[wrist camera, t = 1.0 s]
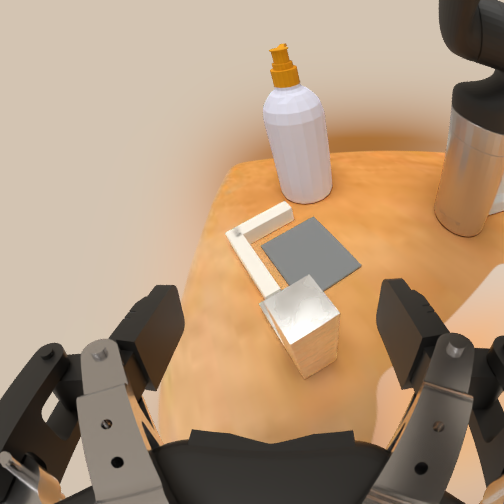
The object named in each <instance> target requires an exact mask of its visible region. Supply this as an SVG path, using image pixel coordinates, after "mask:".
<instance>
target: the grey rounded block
mask: <svg viewBox="0 0 504 504" xmlns="http://www.w3.org/2000/svg"><path fill="white" fill-rule="evenodd" d="M501 211H504V175H503V178H502V181H501V184H500V186H499V189H498V192H497V195H496V197H495V200H494V203H493V205H492V208H491V210H490V212H489V215H490V214H494V213H498V212H501Z"/></svg>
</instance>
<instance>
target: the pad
mask: <svg viewBox="0 0 504 504" xmlns="http://www.w3.org/2000/svg"><path fill="white" fill-rule="evenodd" d="M261 247H262V249H263V250H264V252H265V253H266V254H267V256H268V257H269V258H270V260H271V261H272V263H273V264H274V265H275V267H276V268H277V269H278V271H279V272H280V274H281V275H282V276H283V278H284V279H285V281H286V282H287V283H288V285H289V286H290V285H292V284H294V283H295V282H297V281H299V280H300V279H302V278H304V277H305V276H307V275H309V274H310V276H311V277H312V278H313V279H314V281H315V282H316V283H317V284H318V286H319V287H320V288H321V290H322V291H325V290H326V289H328V288H330V287H331V286H333V285H334V284H336V283H337V282H339V281H340V280H342V279H343V278H345V277H347V276H348V275H350V274H351V273H353V272H354V271H356V270H357V269H358V268H360V267H361V264H360V263H359V262H358V261H357V260H356V259H355V258H354V257H353V256H352V255H351V254H350V253H349V252H348V251H347V250H346V249H345V248H344V247H343V246H342V245H341V243H340V242H339V241H338V240H337V239H336V238H335V237H334V236H333V235H332V234H331V233H330V232H329V231H328V230H327V229H326V228H325V227H324V226H323V225H322V224H320V223H319V222H318V221H317V220H316V219H315V218H314V217H312V218H310V219H308V220H306V221H304V222H303V223H301V224H299V225H297V226H295V227H294V228H292V229H290V230H288V231H286V232H285V233H283V234H281V235H279V236H278V237H276V238H274V239H272V240H270V241H269V242H267V243H265V244H263V245H261Z"/></svg>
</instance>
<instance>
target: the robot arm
mask: <svg viewBox="0 0 504 504" xmlns="http://www.w3.org/2000/svg"><path fill="white" fill-rule="evenodd" d="M439 24H440V30H441V34H442V37H443V40H444V42H445V44H446V46H447V47H448V48H449V49H450V50H451V51H452V52H453V53H454V54H456V55H458V56H460V57H462V58H464V59H467V60H470V61H474V62H476V63H479V64H482V65H485V66H488V67H491V68H494V69H495V71H494V74H493V75H492V76H490V77H488V78H486V79H483V80H479V81H470V82H461V83H458V84H456V85H455V86H454V89H453V94H452V108H451V117H450V127H449V135H448V142H447V148H446V154H445V160H444V165H443V170H442V175H441V180H440V184H439V188H438V193H437V197H436V201H435V205H434V210H435V214H436V216H437V218H438V220H439V221H440V222H441V224H442V225H443V226H444V227H446V228H447V229H448V230H450V231H451V232H453V233H455V234H458V235H460V236H465V237H471V236H475V235H477V234H479V233H480V232H481V230H482V228H483V226H484V224H485V222H486V219H487V217H488V215H489V212H490V210H491V208H492V205H493V203H494V200H495V197H496V195H497V192H498V189H499V186H500V184H501V181H502V178H503V175H504V3H503V2H500V1H498V0H439ZM376 322H377V328H378V331H379V333H380V335H381V338H382V340H383V342H384V345H385V347H386V350H387V352H388V355H389V357H390V360H391V362H392V365H393V367H394V370H395V373H396V375H397V378H398V381H399V383H400V386H401V389H402V390H403V389H408V388H414V391H415V393H414V394H413V396H412V399H411V401H410V403H409V405H408V407H407V410H406V412H405V414H404V416H403V418H402V420H401V422H400V424H399V426H398V428H397V430H396V432H395V434H394V436H393V437H392V439H391V441H390V442H389V444H388V446H387V448H386V449H384V448H382V447H380V446H377V445H374V444H371V443H367V442H361V441H355V440H354V433H353V430H352V431H344V432H335V433H323V434H312V435H309V436H305V437H301V438H297V439H293V440H289V441H284V442H280V443H274V444H268V443H263V442H259V441H255V440H251V439H248V438H244V437H240V436H237V435H233V434H230V433H219V432H209V431H201V430H193V429H192V431H191V434H190V438H189V439H187V440H180V441H175V442H171V443H167V444H165V445H164V443H163V442H162V440H161V438H160V436H159V434H158V432H157V430H156V427H155V425H154V423H153V420H152V418H151V415H150V413H149V411H148V408H147V405H146V403H145V400H144V398H143V396H142V394H143V392H144V390H145V389H146V390H151V391H157V388H158V386H159V384H160V382H161V380H162V378H163V375H164V373H165V371H166V369H167V366H168V364H169V362H170V360H171V358H172V356H173V353H174V351H175V349H176V347H177V345H178V343H179V340H180V338H181V336H182V334H183V331H184V325H185V321H184V315H183V311H182V307H181V303H180V299H179V294H178V290H177V288H176V286H174V285H156V286H155V287H154V288H153V290H152V291H151V292H150V294H149V295H148V296H147V297H144V298H143V299H141V300H140V301H138V302H137V303H135V305H134V306H133V307H132V308H131V310H130V312H129V313H128V314H127V315H126V316H125V319H123V320H122V321H121V323H120V324H119V325H118V327H117V328H116V329H115V331H114V332H113V333H112V335H111V336H110V337H109V339H100V340H97V341H94V342H92V343H90V344H88V345H87V346H86V347H85V348H84V349H83V351H82V353H81V354H72V355H67V354H66V352H65V350H64V349H63V347H62V345H60V344H58V343H50V344H47V345H45V346H43V347H41V348H40V349H39V350H38V351H37V352H36V353H35V354H34V355H33V357H32V358H31V359H30V360H29V362H28V363H27V364H26V366H25V367H24V368H23V369H22V371H21V372H20V373H19V375H18V376H17V377H16V379H15V380H14V381H13V383H12V384H11V385H10V387H9V388H8V390H7V391H6V392H5V394H4V395H3V397H2V398H1V400H0V504H465V503H464V502H462V501H460V500H459V499H457V498H456V497H454V496H453V495H451V494H450V493H448V492H446V491H445V490H446V488H447V485H448V483H449V480H450V478H451V476H452V473H453V470H454V467H455V465H456V462H457V459H458V456H459V453H460V450H461V447H462V444H463V440H464V437H465V434H466V430H467V426H468V424H469V427H470V430H471V433H472V436H473V439H474V442H475V446H476V449H477V452H478V455H479V459H480V463H481V466H482V470H483V474H484V478H485V483H486V488H487V489H486V491H485V493H484V496H483V500H482V501H481V502H480V503H479V504H504V411H503V409H502V407H501V405H500V402H499V400H498V397H499V396H500V394H501V393H502V392H503V391H504V336H499V337H497V338H496V339H495V340H494V342H493V344H492V346H491V348H490V349H485V348H474V346H473V344H472V342H471V341H470V340H469V339H468V338H466V337H465V336H463V335H461V334H458V333H450V332H449V330H448V329H447V328H446V326H445V325H444V323H443V322H442V320H441V319H440V318H439V316H438V315H437V313H436V312H434V309H433V308H432V307H431V306H430V304H429V303H428V301H427V300H426V299H425V297H424V296H423V295H421V294H420V293H418V292H417V291H415V290H411V289H410V288H409V286H408V285H407V284H406V282H405V281H404V280H403V279H402V278H398V279H385V280H383V282H382V286H381V292H380V298H379V303H378V309H377V315H376ZM52 391H53V393H54V394H55V396H56V397H57V398H58V400H59V402H58V403H57V405H56V407H55V409H54V410H53V412H52V414H51V415H50V417H49V419H48V421H47V422H46V423H45V422H44V420H43V418H42V414H41V412H42V408H43V406H44V404H45V402H46V401H47V399H48V397H49V396H50V394H51V393H52ZM80 437H81V438H82V443H83V449H84V454H85V458H86V463H87V467H88V471H89V474H90V479H91V483H92V486H90V487H88V488H86V489H84V490H82V491H80V492H78V493H76V494H74V495H72V496H70V497H67V498H65V496H64V494H63V493H61V487H60V483H61V480H62V477H63V475H64V473H65V470H66V468H67V465H68V463H69V461H70V459H71V457H72V454H73V452H74V450H75V448H76V445H77V443H78V441H79V439H80Z"/></svg>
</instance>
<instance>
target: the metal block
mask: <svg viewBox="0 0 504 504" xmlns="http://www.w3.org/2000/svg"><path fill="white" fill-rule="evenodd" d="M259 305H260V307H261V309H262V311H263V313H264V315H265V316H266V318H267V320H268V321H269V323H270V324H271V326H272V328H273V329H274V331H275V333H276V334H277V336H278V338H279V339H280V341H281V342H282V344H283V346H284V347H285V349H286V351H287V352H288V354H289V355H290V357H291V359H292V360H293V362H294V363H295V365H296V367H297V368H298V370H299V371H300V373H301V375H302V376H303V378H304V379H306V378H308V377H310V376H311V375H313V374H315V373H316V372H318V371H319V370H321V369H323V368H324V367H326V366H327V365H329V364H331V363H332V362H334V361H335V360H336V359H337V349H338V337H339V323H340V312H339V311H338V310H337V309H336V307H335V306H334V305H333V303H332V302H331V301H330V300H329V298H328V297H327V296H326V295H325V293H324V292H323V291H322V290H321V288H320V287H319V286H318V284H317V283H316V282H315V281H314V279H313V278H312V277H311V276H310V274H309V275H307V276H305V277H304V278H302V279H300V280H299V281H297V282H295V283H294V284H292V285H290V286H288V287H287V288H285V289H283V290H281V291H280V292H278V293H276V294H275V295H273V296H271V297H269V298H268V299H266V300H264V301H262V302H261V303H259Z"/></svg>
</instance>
